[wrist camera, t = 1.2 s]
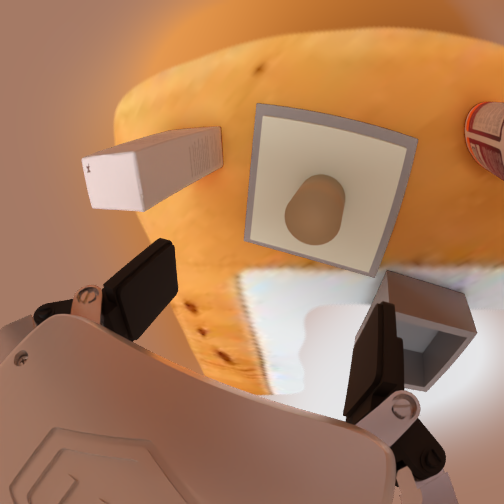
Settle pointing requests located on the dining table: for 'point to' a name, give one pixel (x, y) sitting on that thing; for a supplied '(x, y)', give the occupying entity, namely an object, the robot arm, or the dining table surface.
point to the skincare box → (151, 168)
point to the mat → (345, 125)
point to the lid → (324, 190)
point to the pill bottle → (487, 136)
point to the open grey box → (426, 326)
